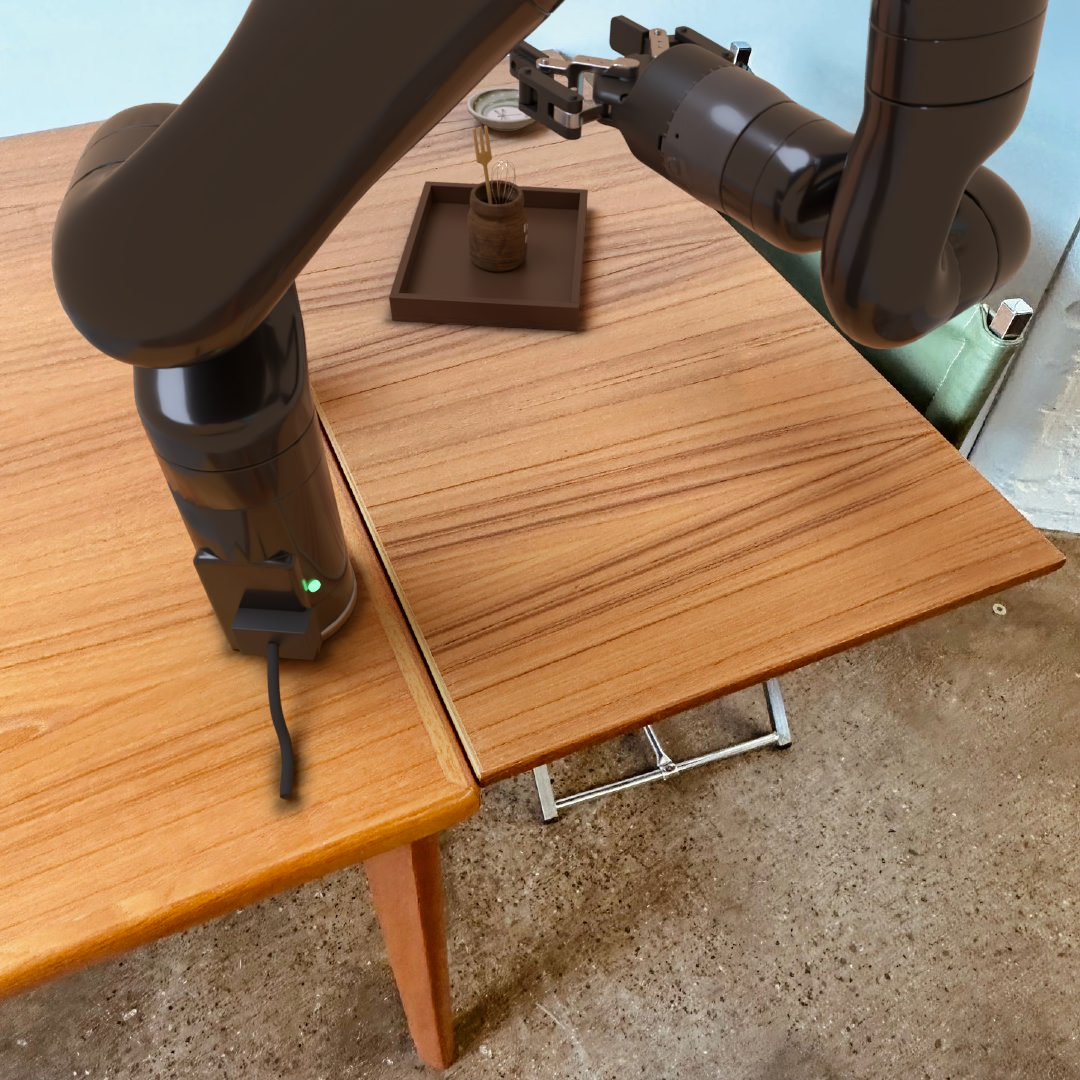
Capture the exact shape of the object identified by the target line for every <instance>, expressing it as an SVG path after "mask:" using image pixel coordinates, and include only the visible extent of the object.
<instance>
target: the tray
mask: <svg viewBox="0 0 1080 1080" xmlns="http://www.w3.org/2000/svg"><path fill="white" fill-rule="evenodd" d="M478 184H479V183H467V182H466V183H465V182H448V181H431V180H429V181H424V185H423V188H422V191H421V193H420V196H419V200H418V203H417V206H416V210H415V213H414V216H413V219H412V223H411V226H410V229H409V232H408V236H407V237H406V238H407V239H406V242H405V244H404V248H403V251H402V254H401V258H400V261H399V264H398V268H397V271H396V274H395V276H394V277H395V278H394V280H393V283H392V287H391V290H390V293H389V296H388V301H389V307H390V308H389V309H390V314H391V316H390V317H391V321H398V322H414V323H415V322H416V323H429V324H430V323H433V324H448V325H449V324H450V325H451V324H452V325H467V326H468V325H469V326H484V327H485V326H486V327H504V328H521V329H539V330H553V331H554V330H557V331H573V332H578V329H579V328H578V327H579V315H580V303H581V290H582V277H583V265H584V253H585V252H584V249H585V237H586V226H587V225H586V224H587V215H588V214H587V212H588V198H589V197H588V196H589V195H588V194H589V190H588V189H585V188H584V189H582V188H565V187H563V188H562V187H544V186H526V185H525V186H524V185H518V186H519V187H520V188H521V190H522V192H523V196H524V206H523V207H524V209H525V211H526V214H527V224H528V244H527V255H526V259H525V261H524V262H523V263H522V264H521V265H520V266H519V267H517V268H515V269H513V270H509V271H504V272H492V271H487V270H484V269H481V268H479V267H478V266H476V265H475V264H474V263H473V261H472V260H471V257H470V253H469V244H468V213H469V210H470V208H471V206H470V195H471V191H472V189H473V188H474V187H475V186H476V185H478Z"/></svg>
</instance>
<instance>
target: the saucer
mask: <svg viewBox="0 0 1080 1080" xmlns="http://www.w3.org/2000/svg"><path fill="white" fill-rule="evenodd" d="M518 101H519V87H514V86H513V87H512V86H499V87H491V88H486V89H482V90H479V91H478V92H476V93H474V94H472V95H471V96H470V97H469V98H468V99H467V102H466V109H467V112H468V113H469V114H470V115H471V116H472V117H474V118H475V120H477V121H478V122H480V123H482V124H483V125H484V126H487V127H489V128H491V129H492V130H495V131H499V132H514V131H518V130H521V129H523V128H524V127H526V126H530V125H531V124H533V123H534V122H536V120H534V119H533V118H531V117H529V116H528V115H526V114H524V113H523V112H521V111H520V110H519V109H518Z"/></svg>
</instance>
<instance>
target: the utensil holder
mask: <svg viewBox="0 0 1080 1080" xmlns="http://www.w3.org/2000/svg"><path fill="white" fill-rule="evenodd" d="M488 127H489V126H487V125H484V126H483V128H484V134H483V128H482V127H481V126H478V134H477V129H476V128H475V127H473V128H472V136H473V137H472V138H473V145H474V153H475V159H476V162H477V164H480V165H482V167H483V173H484V174H483V175H484V181H483V182H480V183H477V184H478V185H476V186H475V187H474V188H473V189H472V191H471V195H470V206H471V208H470V210H469V213H468V244H469V253H470V257H471V260H472V261H473V263H474V264H475V265H476V266H478V267H479V268H481V269H484V270H487V271H492V272H504V271H509V270H513V269H515V268H517V267H519V266H520V265H521V264H522V263H523V262H524V261H525V259H526V255H527V244H528V224H527V214H526V211H525V209H524V207H523V206H524V196H523V192H522V190H521V188H520V187H519V186H520V185H517V184H516V179H517V178H516V177H517V175H516V167H515V165H514V164H512V162H511V161H509V160H507V159H505V160H503V159H500V160H499V161H498V162H496V163H494V164H493V166H492V169H491V171H493V169H494V167H495V165H496V164H497V166H496V168H495V169H494V171H493V172H492V174H491V177H489V170H488V169H489V168H488V164H489V163H490V162H491V161H492V159H493V156H492V155H493V154H492V148H491V142H490V134H489V128H488ZM478 136H479V141H478ZM484 137H485V141H484ZM479 143H480V147H479ZM485 145H486V148H485ZM501 165H502V168H501V172H500V177H498V176H499V171H496V170H497V168H500V167H499V166H501ZM504 166H506V171H507V173H510V170H509V166H510V167H511V168H512V169H513V171H514V172H513V179H514V181H513V182H511V177H510V176H511V175H510V174H508V175H506V178H505V180H501V179H502V174H503V173H502V172H503V169H504ZM495 171H496V172H497V173H496V176H497V177H496V179H494V177H493V176H494V174H495ZM508 176H509V177H508ZM498 178H499V179H498ZM507 179H508V181H507Z"/></svg>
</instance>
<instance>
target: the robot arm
mask: <svg viewBox="0 0 1080 1080" xmlns="http://www.w3.org/2000/svg"><path fill="white" fill-rule="evenodd" d="M565 1H566V0H250V2H249V4H248V6H247V8H246V10H245V11H244V14H243V16H242V18H241V20H240V22H239V24H238V25H237V26H236V29H235V31H234V32H233V34H231V35H232V36H231V37H230V39H229V40H228V42H227V44H226V46H225V47H224V49H223V50H222V51H221V53H220V54H219V55H218V57H217V59H216V60H215V62H214V63H213V65H212V66H211V67H210V68H209V70H208V71H207V73H205V75H204V76H203V77H202V79H201V80H200V81H199V82H198V84H197V85H196V86H194V88H193V89H192V90H191V92H190V93H189V94H188V95H187V96H186V97H185V98H184V99H183V100H182V102H181V103H173V102H172V103H171V102H148V103H142V104H138V105H134V106H131V107H127V108H124V109H123V110H120V111H119V112H117V113H115V114H114V115H112V116H109V118H108V119H106V120H105V121H104V122H103V123H101V125H100V126H99V127H97V129H96V130H95V131H94V132H93V133H92V135H91V137H90V138H89V139H88V140H87V142H86V144H85V145H84V148H83V150H82V152H81V155H80V156H79V159H78V161H77V164H76V166H75V169H74V171H73V174H72V177H71V179H70V182H69V184H68V187H67V190H66V192H65V194H64V197H63V199H62V201H61V204H60V206H59V209H58V211H57V214H56V218H55V222H54V227H53V230H52V234H51V269H52V278H53V282H54V287H55V290H56V293H57V296H58V299H59V302H60V304H61V307H62V309H63V311H64V312H65V314H66V315H67V317H68V319H69V320H70V322H71V324H72V325H73V327H74V328H75V329H76V330H77V331H78V332H79V333H80V334H81V336H82V337H83V338H85V339H86V341H87V342H88V343H89V344H90V345H92V346H93V347H94V348H95V349H97V350H98V351H99V352H101V353H102V354H104V355H106V356H108V357H109V358H111V359H114V360H116V361H117V362H120V363H121V362H122V363H124V364H126V365H131V366H132V375H133V376H132V377H133V378H132V379H133V380H132V381H133V394H134V395H133V396H134V402H135V407H136V411H137V414H138V417H139V419H140V422H141V424H142V427H143V430H144V431H145V434H146V436H147V438H148V441H149V443H150V446H151V447H152V450H153V452H154V455H155V457H156V459H157V461H158V464H159V467H160V470H161V472H162V473H163V477H164V478H165V480H166V484H167V486H168V489H169V491H170V494H171V495H172V499H173V501H174V503H175V506H176V507H177V510H178V512H179V514H180V517H181V519H182V521H183V524H184V526H185V529H186V531H187V533H188V536H189V538H190V540H191V544H192V545H193V548H194V549H195V554H194V557H193V558H192V564H193V566H194V569H195V571H196V573H197V576H198V577H199V580H200V583H201V585H202V587H203V590H204V592H205V593H206V597H207V598H208V601H209V603H210V605H211V608H212V610H213V613H214V615H215V617H216V619H217V622H218V624H219V626H220V628H221V630H222V633H223V636H224V638H225V640H226V642H227V645H228V647H229V648H230V649H232V650H239V652H240V654H241V655H242V656H252V657H253V656H254V657H266V658H267V659H266V660H267V666H266V667H267V668H266V669H267V673H266V674H267V678H266V679H267V697H268V706H269V712H270V717H271V720H272V724H273V727H274V730H275V733H276V736H277V740H278V742H279V743H278V745H279V749H280V756H281V769H280V771H281V774H280V784H279V798H280V799H282V800H289V799H291V798H292V797H293V788H294V787H293V786H294V773H295V771H294V770H295V769H294V768H295V767H294V766H295V765H294V764H295V762H294V749H293V744H292V743H293V742H292V739H291V738H292V737H291V735H290V732H289V728H288V726H287V725H288V724H287V722H286V718H285V715H284V711H283V707H282V698H281V687H280V658H281V659H282V658H283V659H294V660H295V659H296V660H308V661H314V660H315V657H316V655H318V654H319V653H320V652H321V647H322V644H323V643H324V641H326V640H328V639H329V638H330V637H332V636H333V635H334V634H335V633H336V632H338V631H339V630H340V629H341V628H342V627H343V626H344V625H345V624H346V622H347V621H348V620H349V618H350V617H351V615H352V613H353V611H354V608H355V606H356V604H357V598H358V584H357V579H356V574H355V571H354V568H353V566H352V563H351V559H350V558H351V557H350V555H349V550H348V545H347V543H346V538H345V534H344V528H343V525H342V519H341V515H340V511H339V507H338V502H337V498H336V493H335V489H334V484H333V479H332V475H331V471H330V467H329V463H328V458H327V453H326V449H325V445H324V440H323V436H322V435H323V434H322V431H321V426H320V421H319V417H318V412H317V409H316V404H315V399H314V396H313V391H312V386H311V379H310V371H309V360H308V349H307V348H308V347H307V338H306V331H305V325H304V319H303V314H302V309H301V304H300V299H299V295H298V288H297V284H296V279H297V278H298V277H299V275H300V274H301V273H302V271H303V270H305V268H306V266H307V265H308V264H309V263H310V261H311V260H312V259H313V258H314V256H315V255H316V253H317V252H318V251H319V250H320V248H321V247H322V246H323V245H324V243H325V242H326V241H327V240H328V238H329V237H330V236H331V234H332V233H333V232H334V230H335V229H336V228H337V227H338V226H339V224H340V223H341V222H342V221H343V220H344V219H345V217H346V216H347V215H348V214H349V213H350V212H351V210H352V209H353V208H354V207H355V206H356V205H357V203H358V202H359V201H361V199H362V198H364V196H365V194H367V193H368V191H370V189H371V188H372V187H373V186H374V185H375V184H376V183H377V182H378V181H379V180H380V179H381V178H382V177H383V176H384V175H385V174H387V172H388V171H390V170H391V168H393V167H394V166H395V165H396V164H397V163H398V162H399V161H400V160H401V159H402V158H403V157H404V156H405V155H407V154H408V153H409V152H410V151H411V150H412V149H413V148H415V146H417V145H418V144H419V143H420V142H421V141H422V140H423V139H424V138H425V137H426V136H427V135H428V134H430V132H431V131H432V130H433V129H434V128H435V127H437V126H438V124H439V123H440V122H442V121H443V120H444V118H445V119H446V117H447V116H448V115H449V114H450V113H451V112H452V111H453V110H454V109H455V108H456V107H457V106H458V105H459V104H460V103H461V102H462V101H463V100H464V99H465V98H466V97H467V96H468V95H469V94H470V93H471V92H472V91H473V90H474V89H475V88H476V87H477V86H479V84H480V83H481V82H482V81H483V80H485V78H486V77H487V76H488V75H489V74H490V73H491V72H492V71H493V70H494V69H495V68H496V67H497V66H498V65H499V64H500V63H501V62H502V61H503V60H504V59H505V58H506V57H507V56H508V57H509V61H508V62H509V74H510V76H512V77H513V78H514V79H516V80H518V88H519V101H518V109H519V110H520V111H521V112H523V113H524V114H526V115H528V116H529V117H531V118H533V119H534V120H535V122H537V123H539V124H541V125H542V126H544V127H546V128H547V129H549V130H550V131H551V132H554V133H555V134H557V135H558V136H560V137H561V138H564V139H565V140H567V141H568V140H569V141H577V140H579V139H581V138H582V128H583V126H585V125H587V124H589V123H592V122H595V121H596V122H597V123H599V124H600V125H603V126H607V127H610V128H614V129H617V130H618V131H619V132H620V134H621V136H622V137H623V139H624V141H625V143H626V145H627V147H628V149H629V151H630V153H631V154H632V156H633V157H634V158H635V159H636V160H637V161H639V162H640V163H642V164H643V165H645V166H646V167H647V168H648V169H650V170H652V171H653V172H655V173H657V174H658V175H660V177H663V178H664V179H665V180H666V181H668V182H670V183H671V184H673V186H676V187H677V188H679V189H680V190H682V191H683V192H685V193H686V194H688V195H689V196H691V197H692V198H694V199H695V200H697V201H698V202H700V203H702V204H703V205H705V206H707V207H708V208H711V209H712V210H715V211H717V212H720V213H723V214H724V215H726V216H729V217H731V218H732V219H733V220H735V221H736V222H738V223H739V224H741V225H743V226H744V227H745V228H747V229H749V230H750V231H752V232H753V233H755V234H756V235H757V236H759V237H760V238H762V239H763V240H765V241H766V242H767V243H769V244H771V245H773V246H774V247H776V248H778V249H780V250H782V251H784V252H787V253H790V254H795V255H804V254H805V255H806V254H813V253H817V252H820V256H819V257H820V259H819V275H820V285H821V290H822V295H823V298H824V301H825V305H826V306H827V309H828V311H829V313H830V315H831V317H832V319H833V321H834V322H835V323H836V325H837V326H838V327H839V329H840V331H842V332H843V333H844V334H845V335H847V336H848V337H849V339H851V340H853V341H854V342H856V343H857V344H859V345H862V346H864V347H865V346H866V347H869V348H872V349H878V350H879V349H880V350H888V349H896V348H901V347H904V346H907V345H909V344H912V343H915V342H917V341H919V340H921V339H922V338H924V337H926V336H927V335H929V334H931V333H932V332H934V331H936V330H937V329H939V328H940V327H942V326H945V324H947V323H949V322H950V321H952V320H953V319H955V318H956V317H958V316H959V315H961V314H962V313H964V312H966V311H967V310H969V309H971V308H973V306H975V305H977V304H979V303H981V302H983V301H984V300H985V299H987V298H989V297H991V296H992V295H993V294H995V293H997V292H998V291H1000V290H1002V289H1003V288H1004V287H1005V286H1006V285H1007V284H1009V282H1011V280H1013V279H1014V278H1015V277H1016V276H1017V274H1019V272H1020V270H1021V269H1022V268H1023V266H1024V264H1025V262H1026V260H1027V258H1028V255H1029V253H1030V251H1031V245H1032V224H1031V220H1030V217H1029V214H1028V211H1027V209H1026V207H1025V205H1024V203H1023V201H1022V199H1021V197H1020V196H1019V194H1017V192H1016V191H1015V189H1013V187H1012V186H1011V185H1010V184H1009V183H1008V182H1007V181H1006V180H1005V179H1004V178H1003V177H1001V176H1000V175H998V173H996V172H995V171H993V170H992V169H990V168H988V167H987V166H985V165H984V164H985V162H986V161H987V160H989V158H991V157H992V155H994V154H995V153H996V152H997V151H998V150H999V149H1000V148H1001V147H1002V146H1003V145H1004V144H1005V143H1006V142H1007V141H1008V140H1009V139H1010V138H1011V136H1012V135H1013V134H1014V132H1015V131H1016V130H1017V128H1018V127H1019V125H1020V123H1021V121H1022V119H1023V116H1024V114H1025V111H1026V108H1027V104H1028V101H1029V99H1030V94H1031V90H1032V86H1033V82H1034V76H1035V70H1036V67H1037V61H1038V56H1039V51H1040V47H1041V41H1042V36H1043V31H1044V27H1045V26H1044V25H1045V23H1046V22H1045V21H1046V17H1047V11H1048V6H1049V0H869V11H868V12H869V13H868V23H867V37H866V52H865V67H864V86H863V106H862V112H861V115H860V119H859V121H858V125H857V127H856V130H855V132H852V131H848V130H847V129H844V128H842V127H841V126H840V125H838V124H837V123H835V122H834V121H831V120H830V119H827V118H826V117H824V116H822V115H820V114H819V113H816V112H815V111H813V110H811V109H809V108H807V107H805V106H803V105H801V104H800V103H798V102H797V101H794V100H793V99H792V98H790V97H789V96H788V95H787V94H786V93H784V91H782V89H780V88H778V87H776V85H774V84H773V83H770V82H769V81H767V80H765V79H763V78H761V77H760V76H758V75H756V74H754V73H752V72H750V71H748V70H746V69H744V68H742V67H740V66H738V65H737V64H735V57H736V55H735V53H734V52H733V51H731V50H729V49H728V48H726V47H724V46H722V44H721V45H720V44H719V43H717V42H716V41H714V40H712V39H711V38H708V37H707V36H705V35H704V34H701V33H700V32H699V31H697V30H695V29H693V28H691V27H689V26H687V25H679V26H677V27H675V28H674V34H668V33H667V30H665V29H663V28H660V27H655V28H651V29H649V28H647V27H645V26H644V25H642V24H640V23H638V22H636V21H634V20H632V19H630V18H629V17H626V16H625V15H623V14H620V15H616V16H613V17H611V19H610V22H609V23H610V25H609V38H608V42H609V47H610V49H611V50H613V51H614V52H616V53H618V54H619V55H621V56H619V57H617V58H615V59H611V58H602V57H597V56H589V55H584V54H578V55H575V56H574V57H573V59H572V60H563V59H558V58H557V59H556V58H550V56H549V55H548V54H546V53H545V52H543V51H541V50H540V49H538V48H537V47H535V46H533V45H531V44H530V43H528V42H527V41H526V39H527V38H528V37H529V36H530V35H532V34H533V33H534V31H536V30H537V29H538V28H539V27H540V26H541V25H542V24H544V23H545V21H546V20H547V19H549V17H551V15H552V14H553V13H555V11H556V10H558V9H559V8H560V6H561V5H562V4H563V3H564V2H565ZM622 56H623V57H622ZM585 73H590V74H593V76H592V77H593V78H592V98H591V99H585V97H584V81H585V80H584V79H585ZM555 75H557V76H563V77H565V78H566V79H567V86H566V85H565V84H562V83H561V82H559V81H557V80H555Z"/></svg>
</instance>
